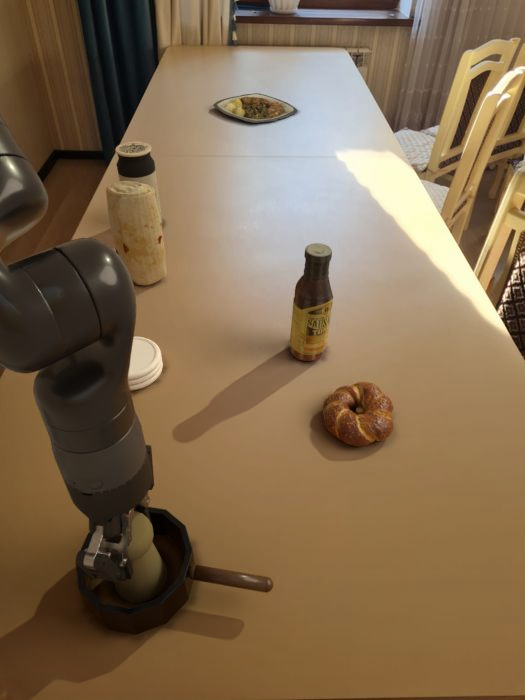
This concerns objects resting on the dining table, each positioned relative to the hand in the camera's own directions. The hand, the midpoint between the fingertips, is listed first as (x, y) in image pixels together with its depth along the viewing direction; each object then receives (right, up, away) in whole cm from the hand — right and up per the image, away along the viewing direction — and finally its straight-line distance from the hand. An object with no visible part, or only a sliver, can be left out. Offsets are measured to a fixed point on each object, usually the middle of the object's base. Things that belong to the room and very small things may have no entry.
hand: (132, 549), depth 59 cm
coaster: (-7, +18, +30) cm, 36 cm away
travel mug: (-13, +51, +67) cm, 85 cm away
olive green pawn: (0, -5, +4) cm, 7 cm away
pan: (+5, -5, +4) cm, 8 cm away
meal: (+12, +104, +126) cm, 164 cm away
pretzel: (+29, +11, +23) cm, 38 cm away
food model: (-10, +36, +50) cm, 63 cm away
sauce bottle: (+22, +21, +34) cm, 46 cm away
